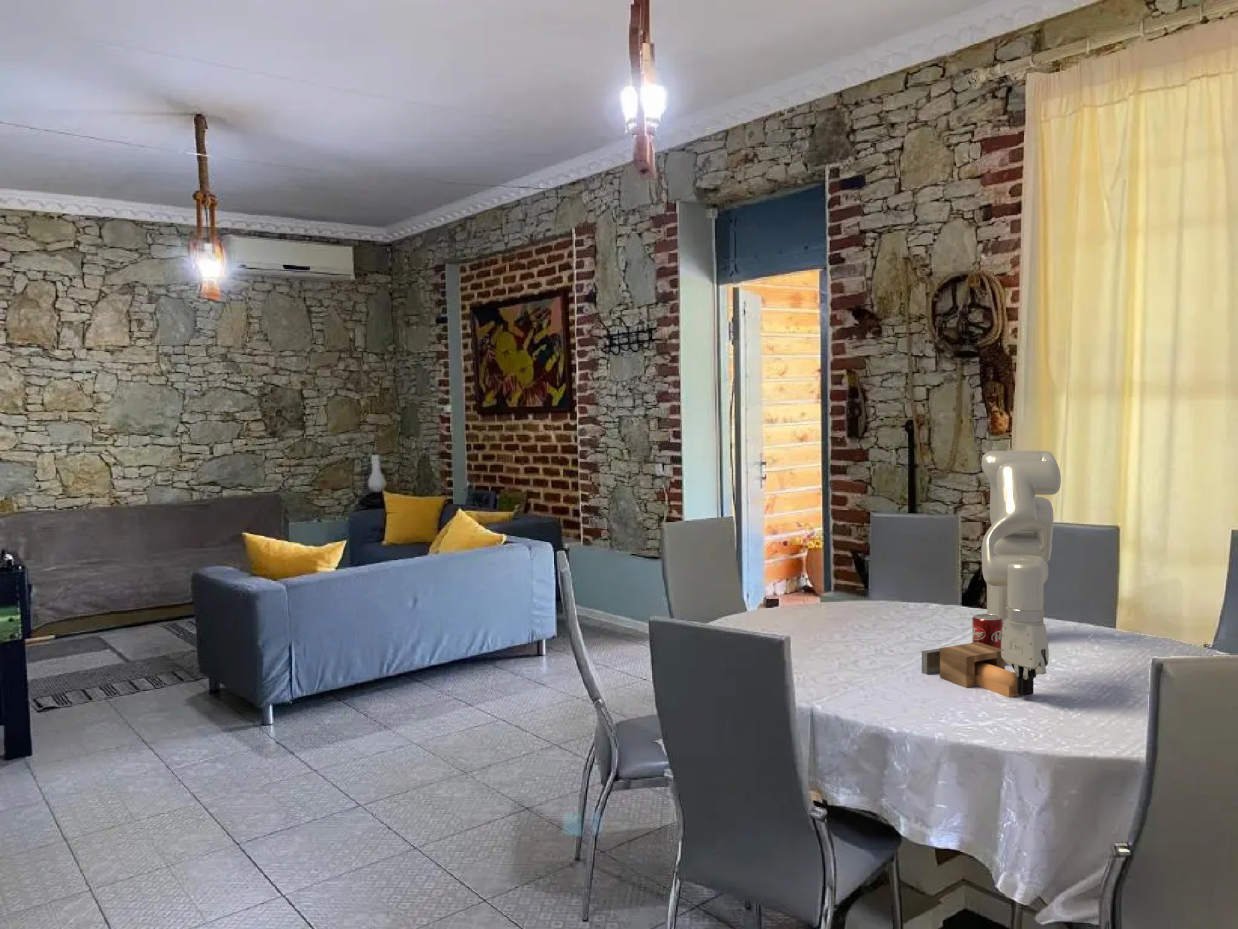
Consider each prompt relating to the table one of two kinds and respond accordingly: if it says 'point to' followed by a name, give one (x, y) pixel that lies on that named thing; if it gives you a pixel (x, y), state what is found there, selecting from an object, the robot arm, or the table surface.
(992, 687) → the dowel
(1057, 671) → the table surface
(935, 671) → the rail
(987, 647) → the block
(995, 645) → the soda can
